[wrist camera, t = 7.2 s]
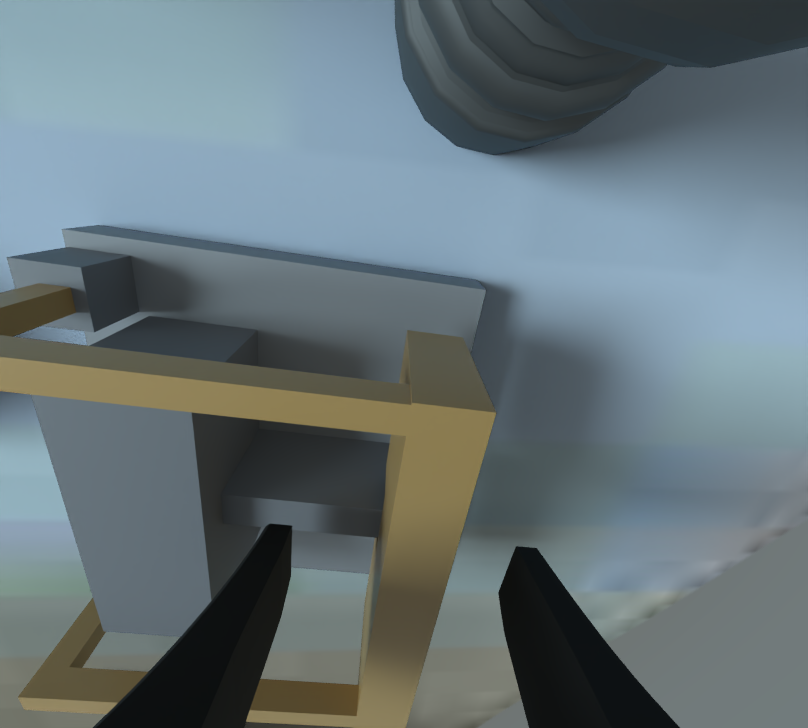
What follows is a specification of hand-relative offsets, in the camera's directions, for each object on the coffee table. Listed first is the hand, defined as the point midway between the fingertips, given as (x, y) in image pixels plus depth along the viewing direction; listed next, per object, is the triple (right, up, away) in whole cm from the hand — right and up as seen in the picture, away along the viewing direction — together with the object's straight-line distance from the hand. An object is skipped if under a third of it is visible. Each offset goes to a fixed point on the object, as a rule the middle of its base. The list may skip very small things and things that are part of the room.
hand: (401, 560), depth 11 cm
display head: (-5, +3, +5) cm, 8 cm away
